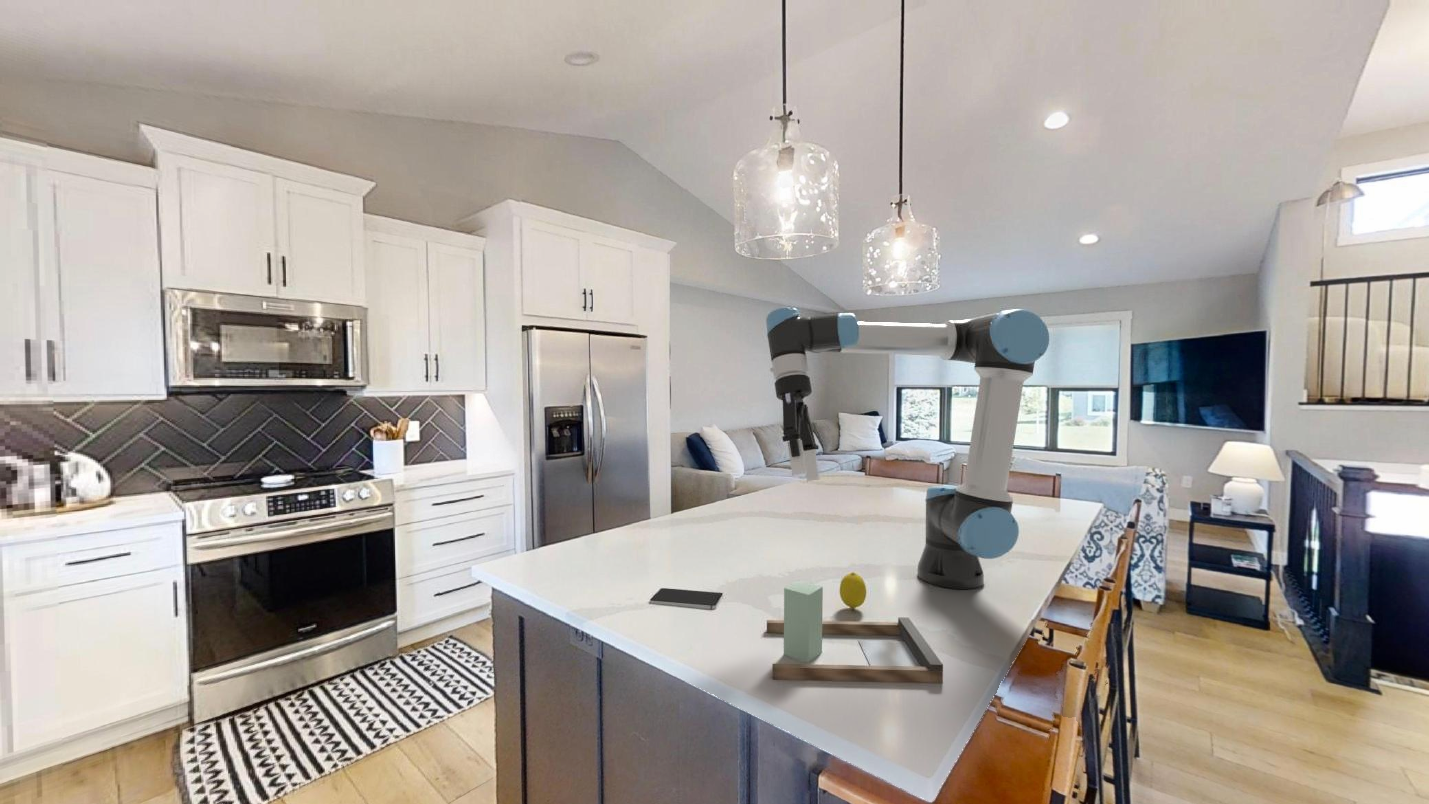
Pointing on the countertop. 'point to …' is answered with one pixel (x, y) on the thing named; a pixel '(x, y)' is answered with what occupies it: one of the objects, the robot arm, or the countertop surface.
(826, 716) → the countertop surface
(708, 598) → the smartphone
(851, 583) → the lemon
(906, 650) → the track
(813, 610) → the block
